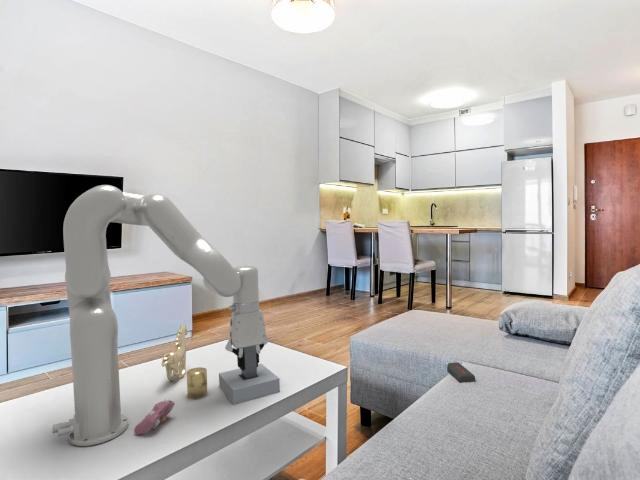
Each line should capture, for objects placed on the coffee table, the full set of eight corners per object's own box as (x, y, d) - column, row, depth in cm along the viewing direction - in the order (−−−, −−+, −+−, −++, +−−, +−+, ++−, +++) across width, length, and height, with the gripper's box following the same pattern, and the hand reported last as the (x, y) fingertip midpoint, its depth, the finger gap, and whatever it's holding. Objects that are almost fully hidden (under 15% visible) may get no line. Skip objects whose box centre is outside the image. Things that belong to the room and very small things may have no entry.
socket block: (233, 404, 103) (233, 390, 103) (219, 385, 115) (218, 373, 115) (279, 391, 111) (279, 378, 110) (261, 375, 123) (261, 363, 122)
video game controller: (146, 443, 89) (157, 418, 88) (131, 433, 89) (141, 409, 88) (170, 421, 98) (180, 398, 97) (156, 412, 99) (166, 390, 98)
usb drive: (459, 384, 114) (459, 375, 114) (443, 368, 126) (443, 360, 126) (475, 383, 115) (475, 374, 115) (458, 367, 127) (458, 359, 126)
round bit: (189, 400, 106) (188, 376, 106) (185, 393, 111) (184, 370, 111) (209, 395, 109) (208, 372, 109) (204, 388, 114) (204, 366, 114)
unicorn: (170, 392, 111) (168, 336, 111) (157, 393, 111) (155, 336, 111) (193, 366, 131) (192, 318, 131) (182, 367, 131) (180, 318, 131)
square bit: (245, 379, 110) (244, 346, 110) (241, 375, 113) (240, 343, 113) (257, 376, 112) (255, 343, 112) (252, 372, 115) (251, 340, 115)
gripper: (222, 314, 104) (225, 378, 105) (277, 305, 113) (278, 365, 114) (215, 308, 111) (217, 369, 112) (267, 301, 119) (269, 357, 120)
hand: (248, 366), depth 113 cm, fingers closed on square bit, 3 cm apart
